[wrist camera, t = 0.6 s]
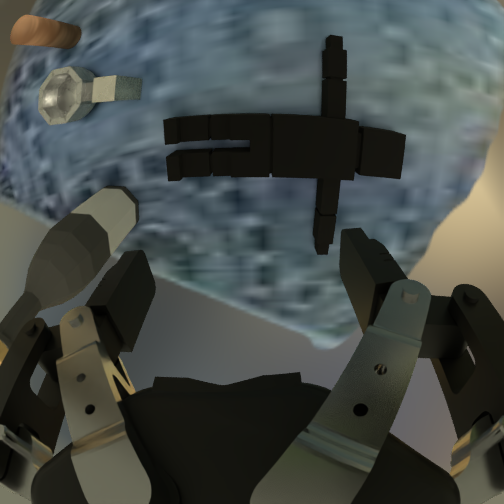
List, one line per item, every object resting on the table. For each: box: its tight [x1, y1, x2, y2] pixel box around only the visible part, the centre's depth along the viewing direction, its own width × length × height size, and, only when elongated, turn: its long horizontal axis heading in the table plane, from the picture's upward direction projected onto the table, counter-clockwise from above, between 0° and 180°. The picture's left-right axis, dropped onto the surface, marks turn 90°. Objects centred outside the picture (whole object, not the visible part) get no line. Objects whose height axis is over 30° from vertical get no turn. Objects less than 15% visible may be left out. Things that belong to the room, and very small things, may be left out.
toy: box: [163, 35, 406, 255], centre depth 33 cm, size 30×5×30 cm
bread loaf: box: [10, 15, 81, 49], centre depth 20 cm, size 4×4×12 cm
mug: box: [38, 66, 142, 125], centre depth 27 cm, size 8×13×8 cm, turn 82°
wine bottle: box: [0, 186, 139, 365], centre depth 26 cm, size 8×8×30 cm
